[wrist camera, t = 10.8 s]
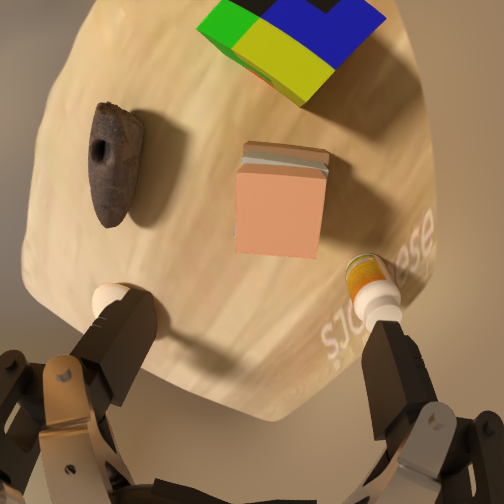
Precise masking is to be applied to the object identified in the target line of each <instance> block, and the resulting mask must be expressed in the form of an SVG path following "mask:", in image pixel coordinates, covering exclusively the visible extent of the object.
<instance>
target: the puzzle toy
mask: <svg viewBox="0 0 504 504" xmlns="http://www.w3.org/2000/svg"><path fill="white" fill-rule="evenodd" d="M386 19H387V18H386V17H385V16H384V15H382V14H381V13H380V12H379V11H377V10H376V9H375V8H374V7H372V6H371V5H370V4H369V3H367V2H366V1H365V0H221V2H220V3H219V4H218V5H217V6H216V7H215V8H214V9H213V10H212V11H211V12H210V13H209V14H208V16H207V17H206V18H205V19H204V20H203V21H202V22H201V24H200V25H199V26H198V27H197V28H196V29H197V30H198V31H199V32H200V33H201V34H202V35H204V36H205V37H206V38H207V39H208V40H209V41H210V42H211V43H212V44H214V45H215V46H216V47H217V48H218V49H219V50H220V51H221V52H222V53H223V54H225V55H226V56H228V57H229V58H231V59H233V60H234V61H236V62H237V63H239V64H240V65H242V66H243V67H245V68H246V69H248V70H249V71H251V72H252V73H254V74H255V75H257V76H258V77H260V78H261V79H262V80H264V81H265V82H267V83H268V84H269V85H271V86H272V87H274V88H275V89H276V90H278V91H279V92H280V93H282V94H283V95H284V96H286V97H287V98H288V99H289V100H291V101H292V102H293V103H295V104H296V105H297V106H298V107H301V106H302V105H303V104H305V103H306V102H307V101H308V100H309V99H310V98H311V96H312V95H313V94H314V93H315V92H316V91H317V90H318V89H319V88H320V87H321V85H322V84H323V83H324V82H325V81H326V80H327V79H328V78H329V77H330V76H331V75H332V74H333V72H334V71H335V70H336V69H337V68H338V67H339V66H340V65H341V64H342V63H343V62H344V61H345V60H346V59H347V58H348V57H349V56H350V55H351V54H352V53H353V52H354V50H355V49H356V48H357V47H358V46H359V45H360V44H361V43H362V42H363V41H364V40H365V39H366V38H367V37H368V36H369V35H370V34H371V33H372V32H373V31H374V30H375V29H376V28H377V27H378V26H379V25H381V24H382V23H383V22H384V21H385V20H386Z"/></svg>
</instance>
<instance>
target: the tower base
mask: <svg viewBox="0 0 504 504" xmlns="http://www.w3.org/2000/svg"><path fill="white" fill-rule="evenodd" d="M248 151H254V152H261V153H269V154H275V155H282V156H288V157H295V158H301V159H306V160H312V161H317V162H323V163H324V165H325V166H326V167H327V168H328V163H329V155H330V154H329V153H328V152H327V151H326V150H324V149H317V148H310V147H303V146H295V145H286V144H277V143H267V142H255V141H248V142H247V143H245V144H244V151H243V155H245V154H246V153H247V152H248Z"/></svg>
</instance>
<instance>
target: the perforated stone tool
mask: <svg viewBox="0 0 504 504" xmlns="http://www.w3.org/2000/svg"><path fill="white" fill-rule="evenodd" d="M143 134H144V128H143V122H142V121H141V120H139V119H138V118H137V117H136V116H134V115H132V114H131V113H129V112H127V111H126V110H122V109H121V108H120V107H118V106H117V105H114V104H111V103H110V102H107V103H102V102H101V103H98V105H97V107H96V111H95V115H94V118H93V123H92V128H91V133H90V140H89V152H88V172H89V182H90V186H91V196H92V201H93V205H94V209H95V212H96V215H97V217H98V219H99V221H100V222H101V224H102V225H103V226H104V227H105V228H111V227H116V226H118V225H119V224H120V223H121V222H122V221H123V219H124V218H125V216H126V214H127V212H128V210H129V208H130V205H131V203H132V200H133V196H134V193H135V187H136V182H137V176H138V169H139V163H140V157H141V148H142V144H143Z"/></svg>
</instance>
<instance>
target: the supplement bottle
mask: <svg viewBox="0 0 504 504" xmlns="http://www.w3.org/2000/svg"><path fill="white" fill-rule="evenodd" d="M345 280H346V283H347V286H348V290H349V293H350V297H351V300H352V303H353V307H354V310H355V313H356V315H357V316H358V318H359V319H360V320H362V321H363V322H365V325H366V328H367V330H368V331H369V332H370V333H371V332H372V330H373V327H374V325H375V323H376V321H378V320H388V321H398V322H399V324H400V322H401V320H402V317H403V314H402V310H401V308H400V303H401V295H400V292H399V290H398V287H397V286H396V284H395V282H394V280H393V278H392V276H391V275H390V273H389V271H388V269H387V267H386V266H385V264H384V262H383V261H382V259H381V258H380V257H378V256H377V255H375V254H371V253H365V254H360V255H358V256H356V257H354V258H353V259H352V260H351V261H350V262H349V263H348V265H347V267H346V270H345Z"/></svg>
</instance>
